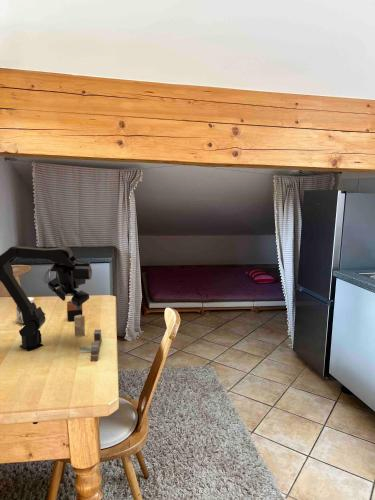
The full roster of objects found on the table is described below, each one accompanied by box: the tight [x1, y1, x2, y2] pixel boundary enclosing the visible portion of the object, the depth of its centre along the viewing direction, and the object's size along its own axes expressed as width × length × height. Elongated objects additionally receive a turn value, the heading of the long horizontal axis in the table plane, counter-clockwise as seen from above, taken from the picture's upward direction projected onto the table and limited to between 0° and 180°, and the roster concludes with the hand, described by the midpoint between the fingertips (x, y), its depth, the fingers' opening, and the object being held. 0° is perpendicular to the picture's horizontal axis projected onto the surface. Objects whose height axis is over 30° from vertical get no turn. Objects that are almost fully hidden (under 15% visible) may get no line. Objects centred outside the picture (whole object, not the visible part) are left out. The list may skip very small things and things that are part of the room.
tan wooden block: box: [73, 314, 86, 338], centre depth 149 cm, size 3×3×9 cm
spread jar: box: [15, 296, 38, 326], centre depth 163 cm, size 12×11×12 cm
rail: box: [77, 328, 102, 362], centre depth 136 cm, size 20×8×5 cm, turn 10°
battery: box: [66, 299, 83, 322], centre depth 168 cm, size 4×7×10 cm, turn 116°
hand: (71, 304), depth 145 cm, fingers open, 9 cm apart
